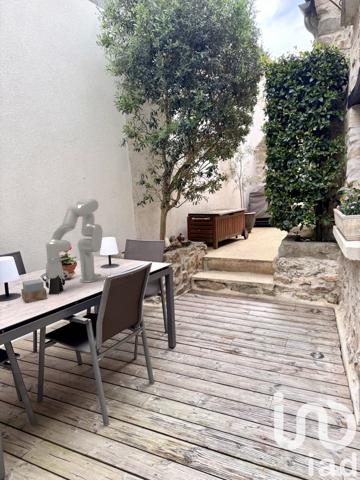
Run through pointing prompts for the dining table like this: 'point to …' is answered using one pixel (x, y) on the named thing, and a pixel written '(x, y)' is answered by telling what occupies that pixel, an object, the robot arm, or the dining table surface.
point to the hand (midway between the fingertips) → (55, 286)
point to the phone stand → (55, 285)
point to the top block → (33, 285)
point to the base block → (34, 296)
